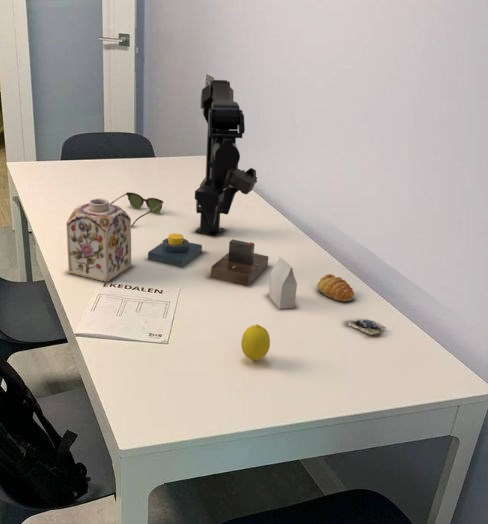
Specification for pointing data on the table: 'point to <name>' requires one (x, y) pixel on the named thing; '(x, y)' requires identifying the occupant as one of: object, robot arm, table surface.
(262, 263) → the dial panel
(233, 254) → the dark grey block
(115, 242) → the decorative jar
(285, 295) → the grey wedge block
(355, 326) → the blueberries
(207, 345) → the table surface
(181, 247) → the blue button base
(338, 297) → the pastry
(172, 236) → the button
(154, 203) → the sunglasses
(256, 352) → the lemon
